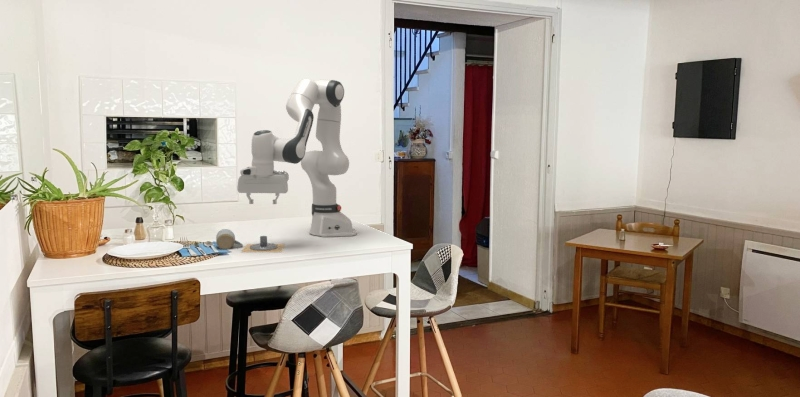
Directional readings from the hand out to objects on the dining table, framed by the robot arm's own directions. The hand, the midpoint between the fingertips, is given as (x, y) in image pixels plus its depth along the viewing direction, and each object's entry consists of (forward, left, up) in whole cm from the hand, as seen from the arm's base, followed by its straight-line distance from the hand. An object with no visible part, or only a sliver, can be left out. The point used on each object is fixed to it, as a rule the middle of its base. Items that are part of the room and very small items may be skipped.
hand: (263, 203), depth 253 cm
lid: (0, 0, -18) cm, 18 cm away
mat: (0, 0, -19) cm, 19 cm away
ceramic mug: (+14, -2, -19) cm, 24 cm away
